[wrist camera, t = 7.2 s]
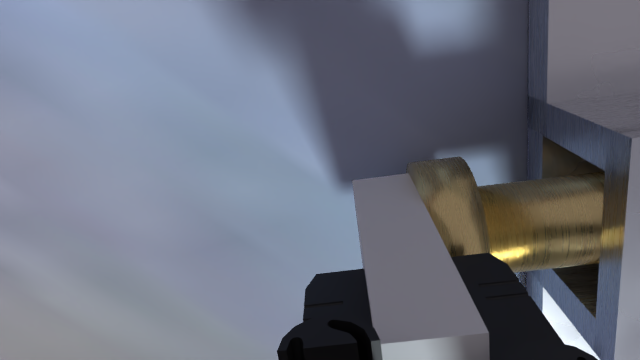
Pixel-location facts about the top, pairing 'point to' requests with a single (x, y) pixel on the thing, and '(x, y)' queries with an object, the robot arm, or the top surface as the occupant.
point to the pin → (514, 215)
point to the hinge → (590, 162)
